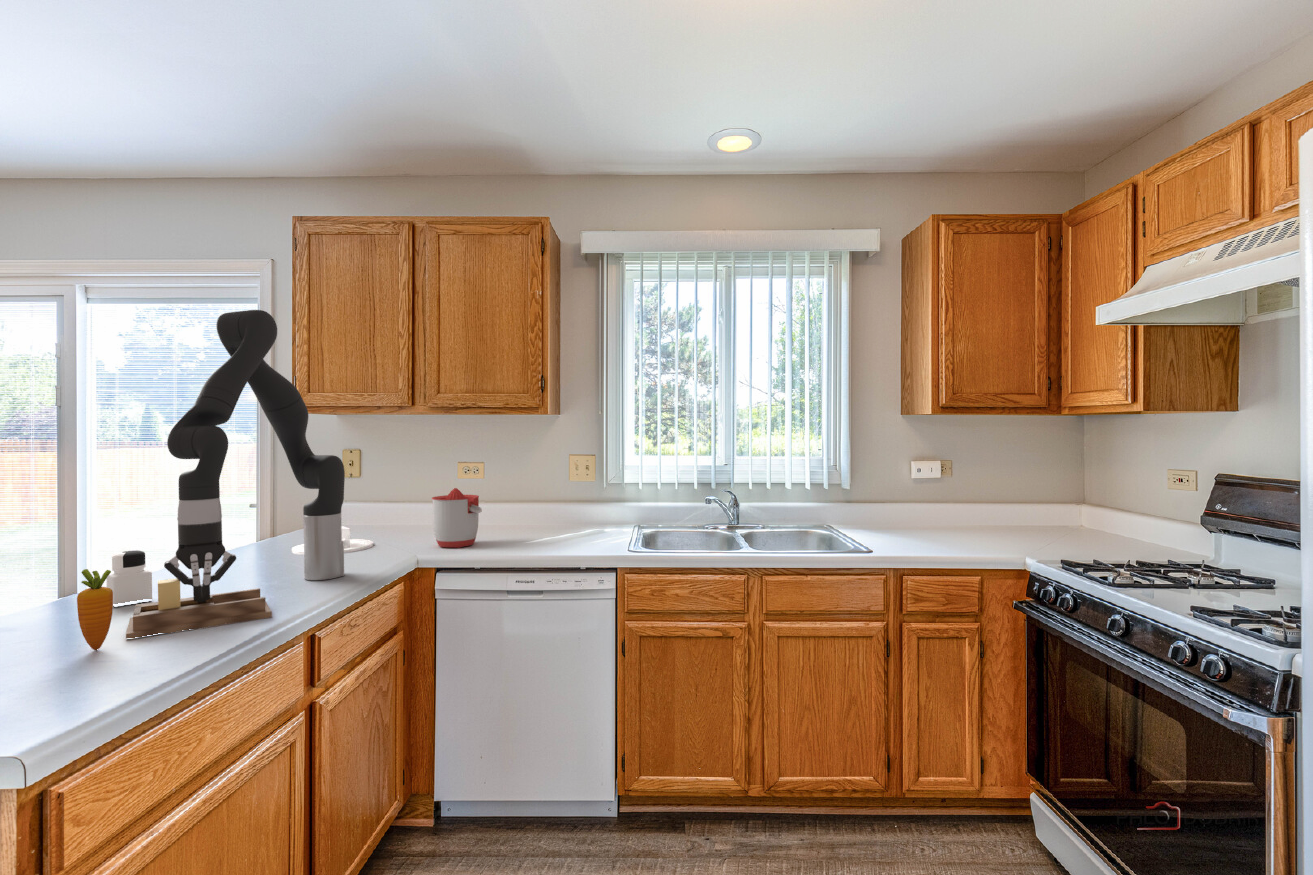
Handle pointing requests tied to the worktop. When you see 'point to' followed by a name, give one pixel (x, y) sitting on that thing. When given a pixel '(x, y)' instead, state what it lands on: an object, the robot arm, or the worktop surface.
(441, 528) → the citrus juicer
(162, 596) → the flanged block
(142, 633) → the track
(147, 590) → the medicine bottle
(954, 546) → the worktop surface
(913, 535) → the worktop surface
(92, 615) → the carrot
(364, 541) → the dish
